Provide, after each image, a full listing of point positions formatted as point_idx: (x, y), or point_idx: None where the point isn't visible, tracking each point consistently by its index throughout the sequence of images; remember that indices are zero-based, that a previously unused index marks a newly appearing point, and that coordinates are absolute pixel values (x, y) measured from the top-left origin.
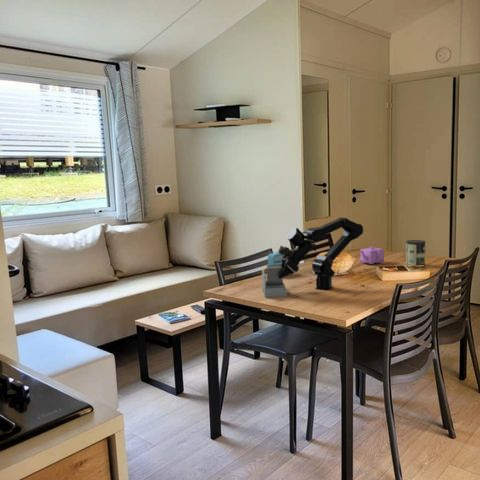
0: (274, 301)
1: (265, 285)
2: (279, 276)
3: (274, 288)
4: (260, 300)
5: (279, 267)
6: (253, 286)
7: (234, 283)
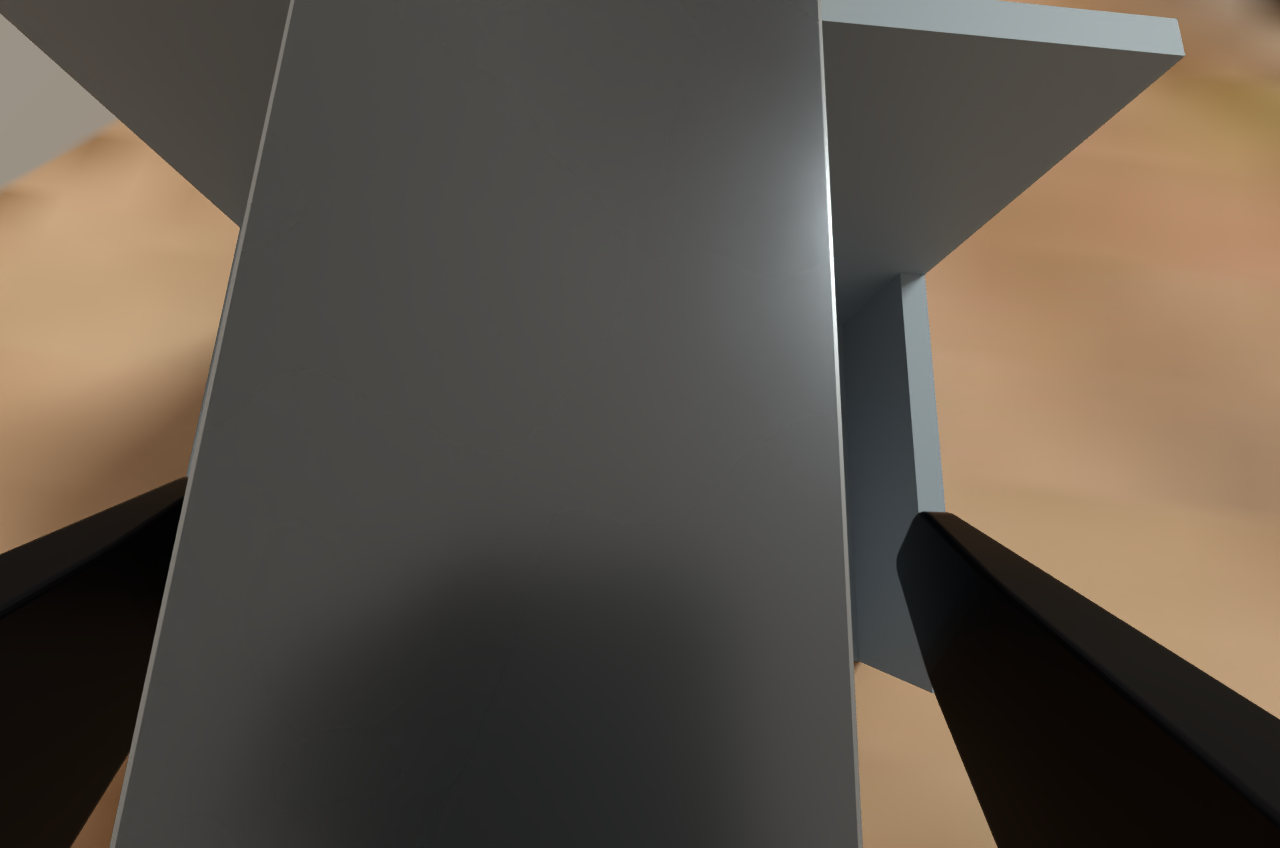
0: (27, 391)
1: (193, 171)
2: (136, 521)
3: (205, 393)
4: (180, 203)
5: (259, 597)
6: (1048, 219)
7: (1224, 18)
